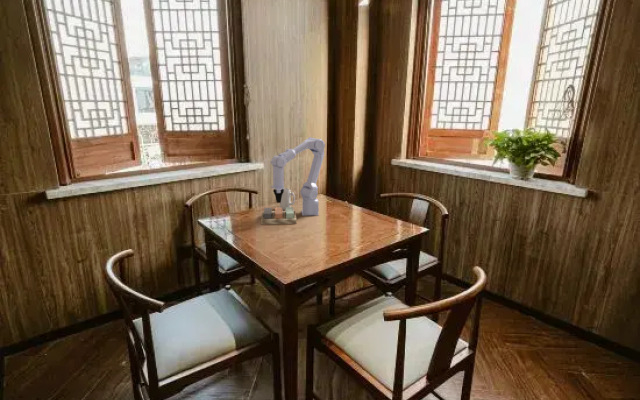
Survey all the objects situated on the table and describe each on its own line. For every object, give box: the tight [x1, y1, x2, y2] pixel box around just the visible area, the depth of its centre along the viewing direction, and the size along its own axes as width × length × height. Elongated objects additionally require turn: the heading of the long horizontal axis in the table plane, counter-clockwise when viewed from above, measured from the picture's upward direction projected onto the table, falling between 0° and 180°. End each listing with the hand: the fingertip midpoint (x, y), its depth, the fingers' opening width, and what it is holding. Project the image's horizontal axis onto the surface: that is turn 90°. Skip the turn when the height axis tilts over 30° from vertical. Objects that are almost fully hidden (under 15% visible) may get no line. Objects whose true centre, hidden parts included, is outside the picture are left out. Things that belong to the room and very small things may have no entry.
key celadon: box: [285, 206, 294, 219], centre depth 194 cm, size 4×11×4 cm, turn 7°
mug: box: [279, 187, 296, 211], centre depth 212 cm, size 10×7×12 cm, turn 69°
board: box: [260, 210, 297, 225], centre depth 194 cm, size 19×15×2 cm
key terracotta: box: [274, 207, 283, 219], centre depth 193 cm, size 4×11×4 cm, turn 7°
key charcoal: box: [263, 207, 273, 219], centre depth 193 cm, size 4×11×4 cm, turn 7°
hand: (278, 202), depth 192 cm, fingers closed
